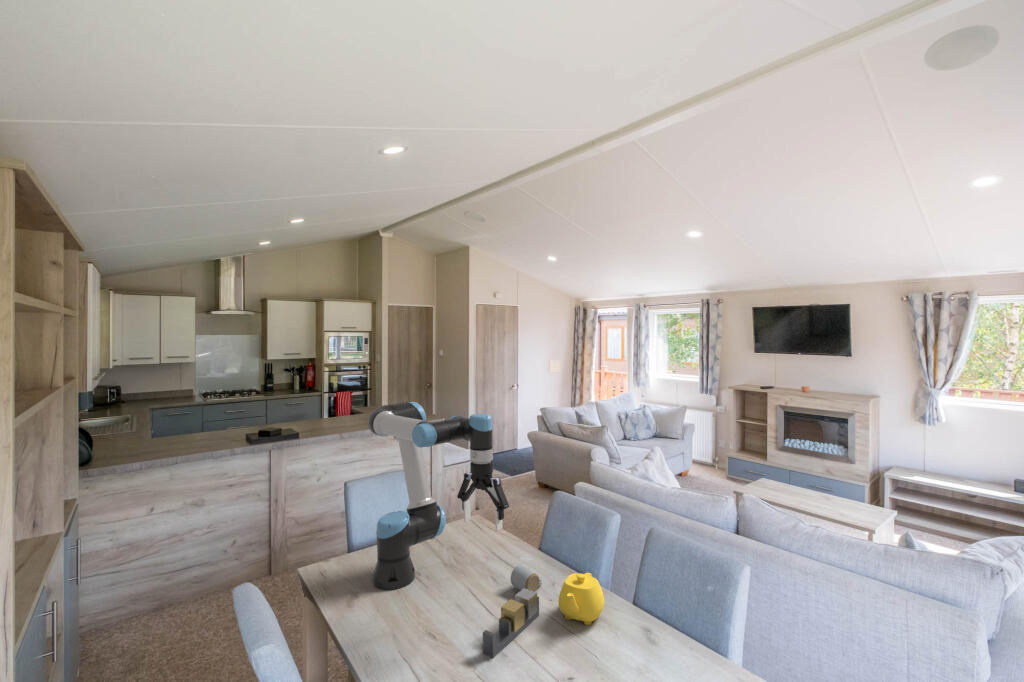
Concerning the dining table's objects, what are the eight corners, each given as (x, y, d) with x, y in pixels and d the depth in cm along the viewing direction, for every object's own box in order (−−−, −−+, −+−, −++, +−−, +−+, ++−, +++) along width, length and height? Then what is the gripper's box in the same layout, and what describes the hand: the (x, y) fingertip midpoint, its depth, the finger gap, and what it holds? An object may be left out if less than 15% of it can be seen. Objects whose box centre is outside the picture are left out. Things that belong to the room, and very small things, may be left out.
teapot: (610, 606, 156) (610, 568, 156) (590, 641, 139) (589, 598, 138) (571, 596, 163) (570, 559, 163) (547, 628, 145) (546, 587, 145)
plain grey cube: (515, 614, 149) (515, 595, 149) (524, 606, 153) (524, 588, 153) (528, 619, 146) (528, 600, 146) (537, 611, 150) (537, 592, 150)
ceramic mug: (526, 598, 162) (526, 576, 162) (509, 589, 168) (509, 567, 168) (547, 587, 169) (547, 565, 169) (530, 579, 175) (530, 558, 175)
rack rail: (483, 653, 134) (482, 632, 134) (529, 611, 154) (529, 593, 154) (493, 658, 132) (492, 636, 132) (539, 615, 152) (538, 596, 152)
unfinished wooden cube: (501, 626, 142) (500, 606, 142) (510, 618, 146) (510, 599, 146) (514, 632, 140) (514, 612, 139) (524, 623, 144) (524, 604, 144)
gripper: (446, 458, 162) (447, 520, 163) (505, 469, 148) (506, 537, 148) (460, 453, 169) (462, 513, 169) (518, 463, 154) (519, 528, 154)
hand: (482, 524), depth 159 cm, fingers open, 13 cm apart
